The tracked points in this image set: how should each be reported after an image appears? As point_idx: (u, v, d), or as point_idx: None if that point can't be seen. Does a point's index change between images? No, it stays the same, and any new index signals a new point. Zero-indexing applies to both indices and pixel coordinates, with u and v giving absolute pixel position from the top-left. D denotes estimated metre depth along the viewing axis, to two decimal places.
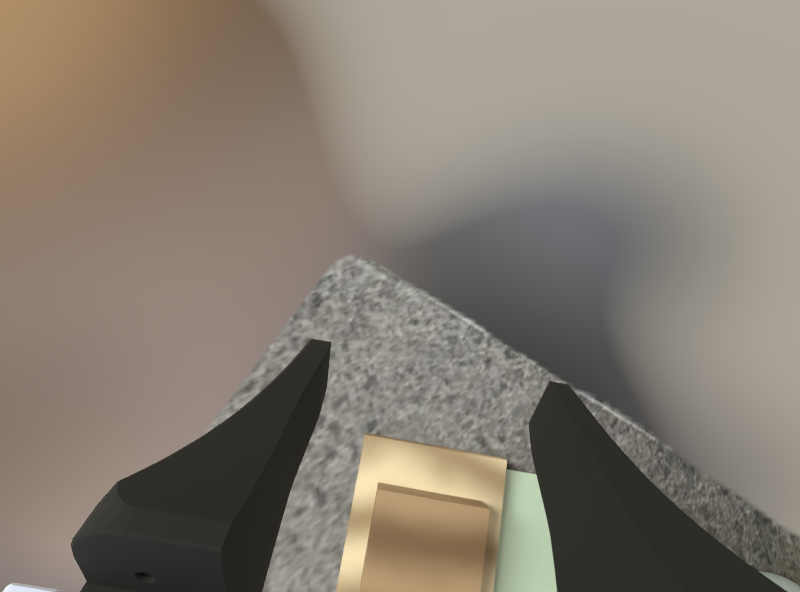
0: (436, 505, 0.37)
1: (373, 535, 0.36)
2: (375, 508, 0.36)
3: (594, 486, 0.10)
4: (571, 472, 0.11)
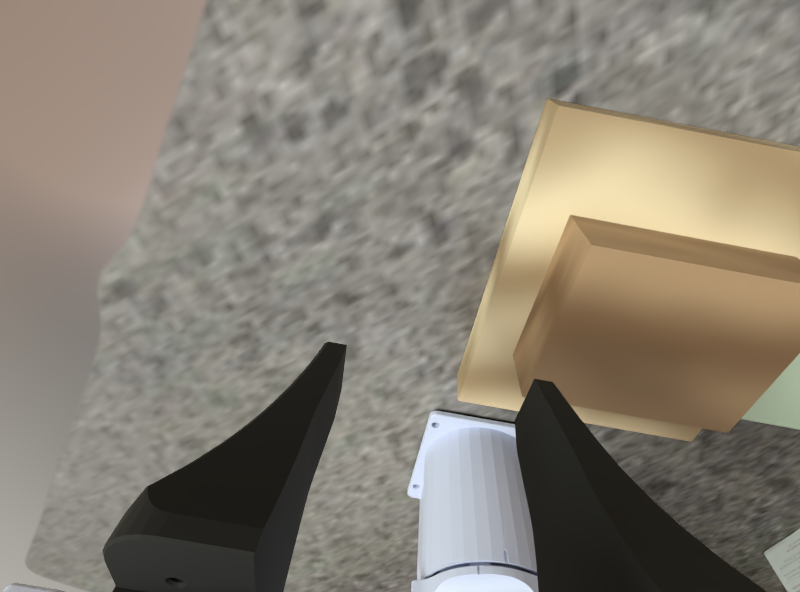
0: (725, 281, 0.16)
1: (562, 324, 0.17)
2: (577, 281, 0.16)
3: (574, 483, 0.10)
4: (553, 469, 0.11)
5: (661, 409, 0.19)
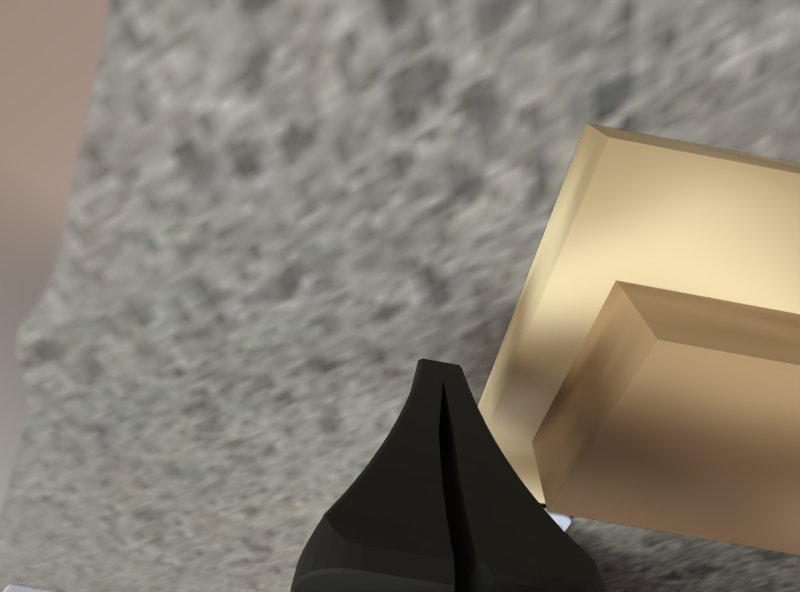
0: None
1: (607, 434, 0.13)
2: (633, 384, 0.11)
3: (451, 461, 0.10)
4: (442, 449, 0.11)
5: (732, 530, 0.15)
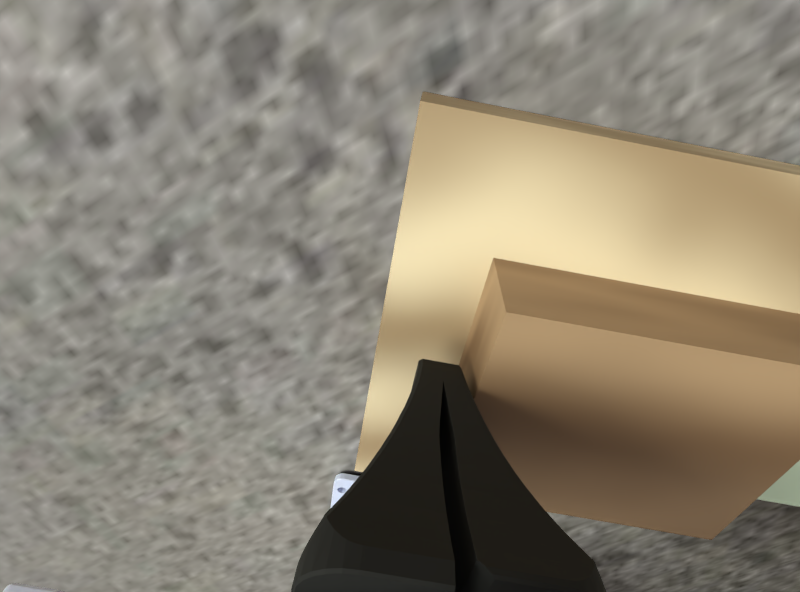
0: (702, 362, 0.11)
1: None
2: (492, 358, 0.11)
3: (450, 461, 0.10)
4: (442, 449, 0.11)
5: (622, 511, 0.15)
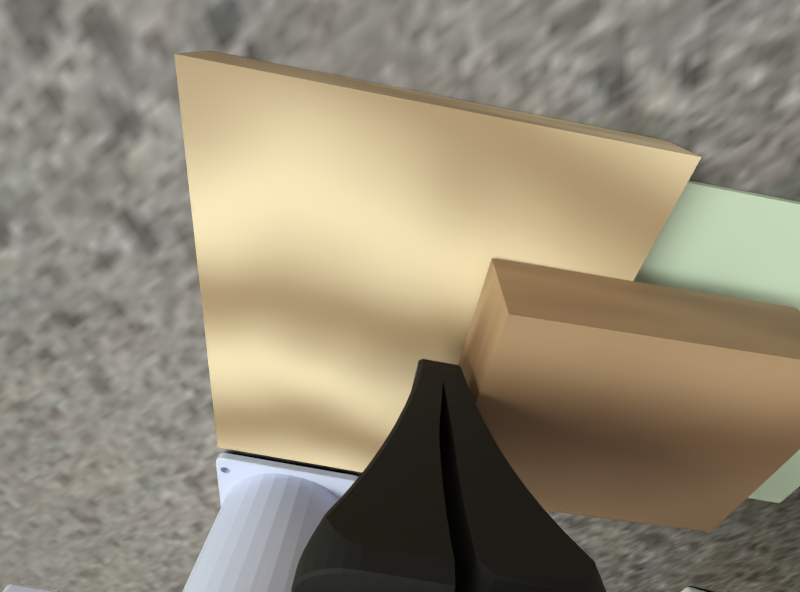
0: (703, 359, 0.11)
1: (481, 414, 0.12)
2: (495, 361, 0.11)
3: (450, 461, 0.10)
4: (442, 449, 0.11)
5: (624, 508, 0.15)
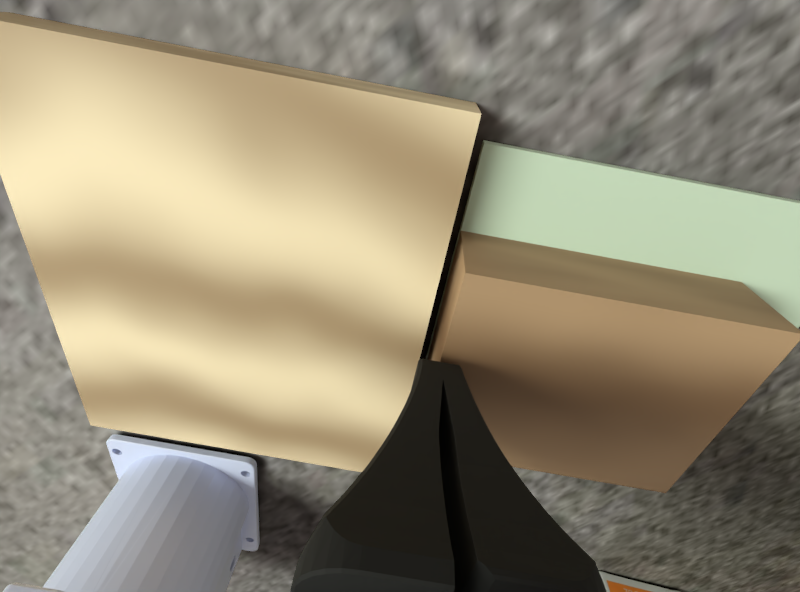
0: (640, 319, 0.12)
1: None
2: (456, 317, 0.13)
3: (451, 461, 0.10)
4: (442, 449, 0.11)
5: (582, 466, 0.16)
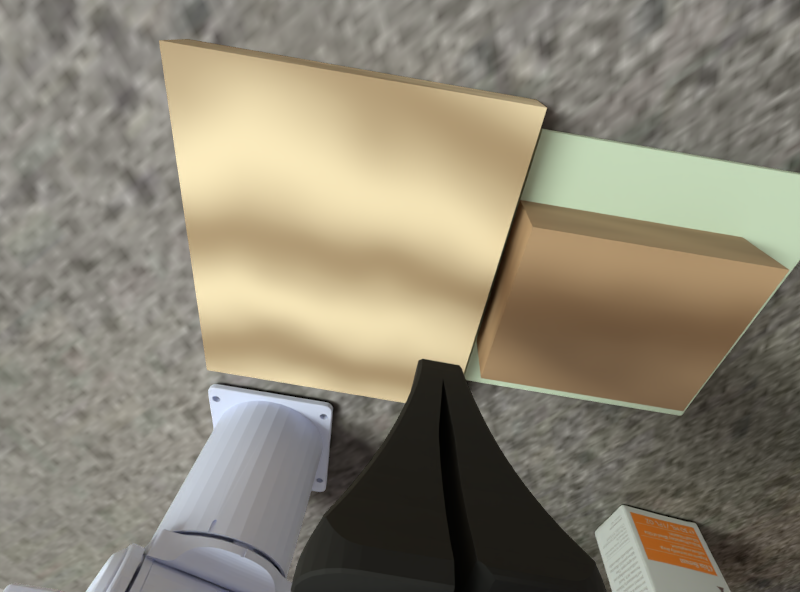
0: (664, 260, 0.16)
1: (512, 305, 0.18)
2: (522, 262, 0.17)
3: (451, 461, 0.10)
4: (442, 449, 0.11)
5: (616, 388, 0.20)
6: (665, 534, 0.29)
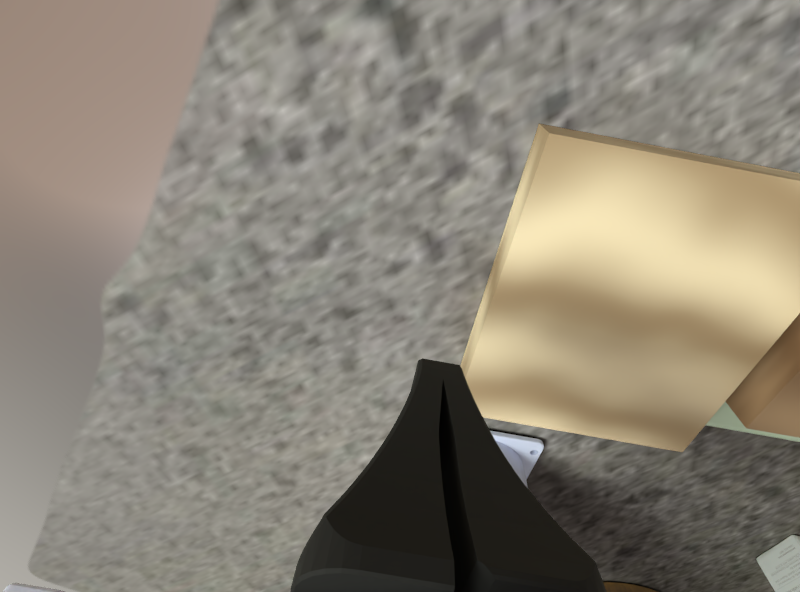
0: None
1: None
2: None
3: (451, 461, 0.10)
4: (442, 449, 0.11)
5: None
6: None
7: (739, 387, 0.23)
